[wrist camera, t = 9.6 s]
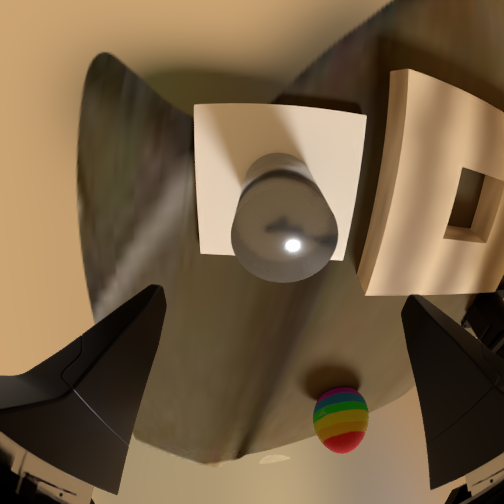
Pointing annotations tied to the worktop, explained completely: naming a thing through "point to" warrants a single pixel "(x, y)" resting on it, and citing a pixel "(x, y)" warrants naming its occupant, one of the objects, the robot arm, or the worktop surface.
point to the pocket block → (435, 193)
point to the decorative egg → (341, 419)
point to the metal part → (282, 221)
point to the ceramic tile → (266, 142)
